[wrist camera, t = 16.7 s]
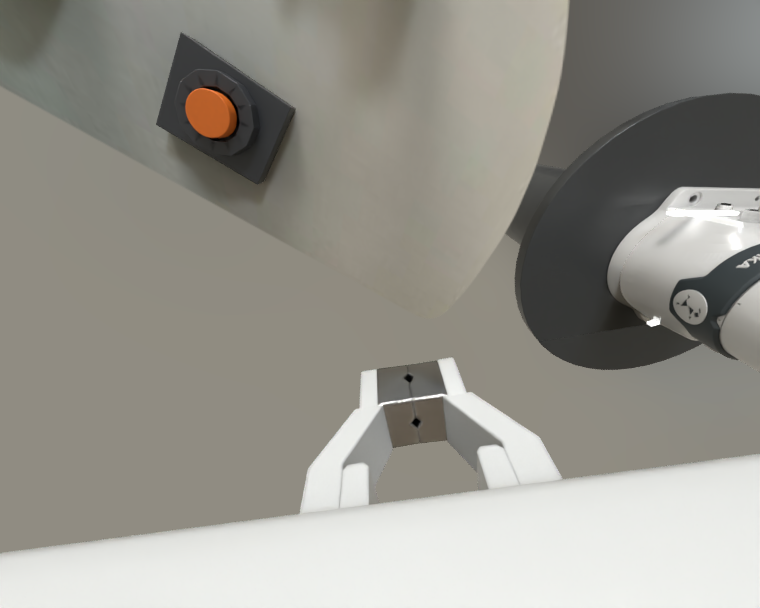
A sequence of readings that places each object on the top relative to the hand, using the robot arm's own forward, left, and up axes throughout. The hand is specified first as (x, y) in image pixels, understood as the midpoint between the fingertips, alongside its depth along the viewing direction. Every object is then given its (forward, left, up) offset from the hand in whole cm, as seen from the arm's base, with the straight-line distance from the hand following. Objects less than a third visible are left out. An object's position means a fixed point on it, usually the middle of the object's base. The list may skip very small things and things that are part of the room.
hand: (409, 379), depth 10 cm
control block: (+13, -11, -29) cm, 33 cm away
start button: (+13, -11, -25) cm, 30 cm away
